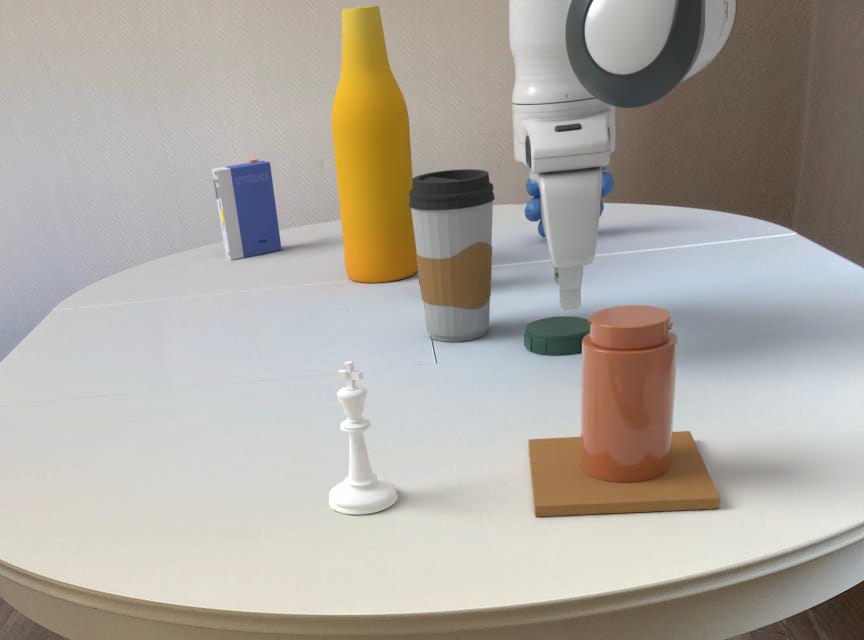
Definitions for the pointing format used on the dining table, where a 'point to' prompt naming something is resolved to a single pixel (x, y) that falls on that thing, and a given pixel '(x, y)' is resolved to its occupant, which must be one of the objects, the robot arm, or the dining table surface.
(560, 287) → the robot arm
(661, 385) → the jar
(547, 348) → the lid
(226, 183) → the walkman
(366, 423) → the chess piece
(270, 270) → the dining table surface
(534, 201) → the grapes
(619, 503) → the mat
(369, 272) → the beer bottle
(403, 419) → the dining table surface
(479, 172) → the coffee cup
